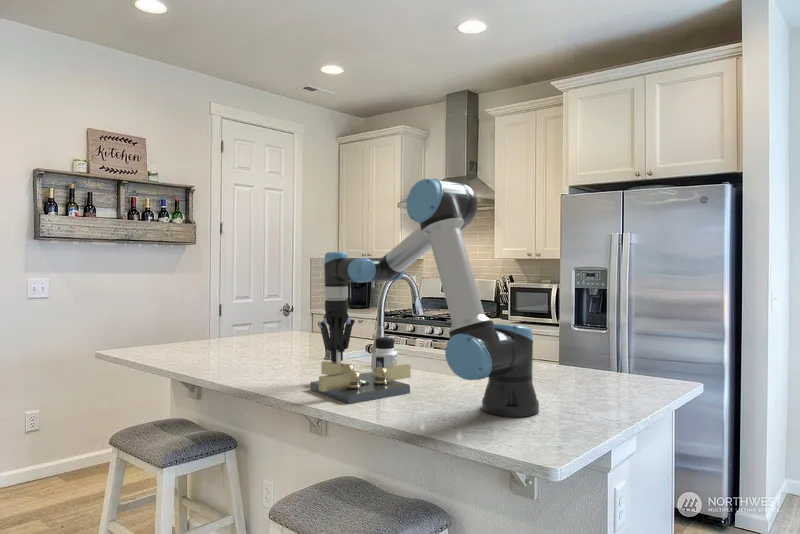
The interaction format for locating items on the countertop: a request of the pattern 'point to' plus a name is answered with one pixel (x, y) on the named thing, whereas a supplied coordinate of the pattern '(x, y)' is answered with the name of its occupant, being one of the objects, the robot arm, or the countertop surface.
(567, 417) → the countertop surface
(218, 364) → the countertop surface
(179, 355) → the countertop surface
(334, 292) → the robot arm
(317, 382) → the tribrach plate
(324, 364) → the brass lever handle
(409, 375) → the knob
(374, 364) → the container
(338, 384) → the knob
